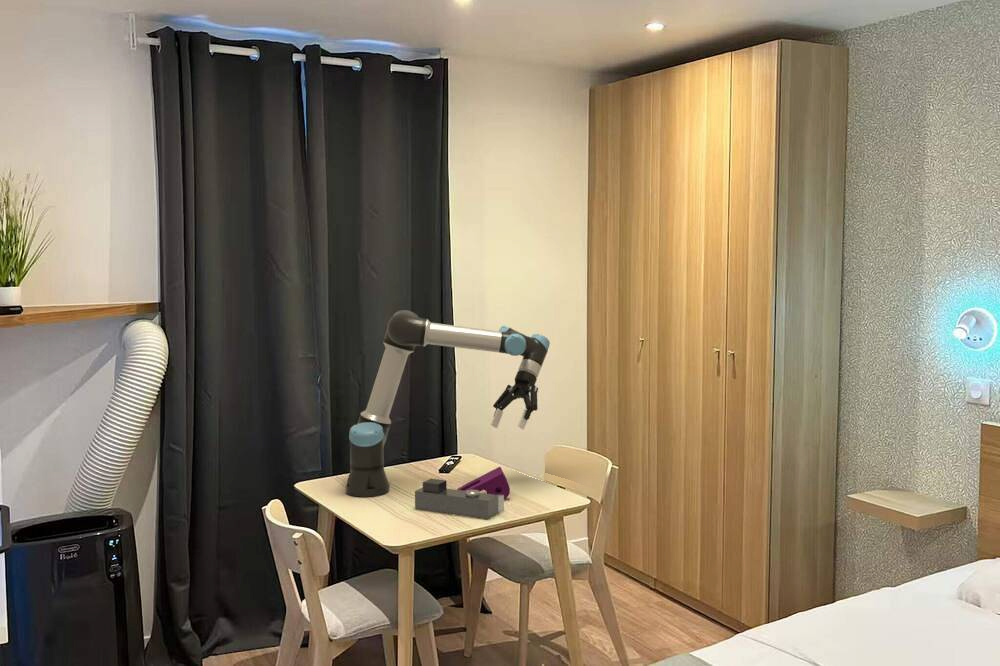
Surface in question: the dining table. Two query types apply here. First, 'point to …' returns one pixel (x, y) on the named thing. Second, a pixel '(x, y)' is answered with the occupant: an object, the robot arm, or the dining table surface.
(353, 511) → the dining table surface
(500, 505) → the block
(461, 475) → the dining table surface
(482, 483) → the mounting bracket
